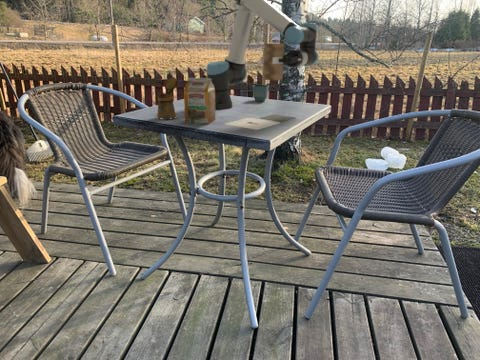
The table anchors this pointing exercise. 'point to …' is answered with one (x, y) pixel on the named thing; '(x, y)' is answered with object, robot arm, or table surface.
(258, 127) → the beige square pad
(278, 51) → the walnut block
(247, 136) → the table surface
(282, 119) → the mat
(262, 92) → the flower pot
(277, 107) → the table surface
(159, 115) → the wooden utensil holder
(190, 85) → the milk carton
